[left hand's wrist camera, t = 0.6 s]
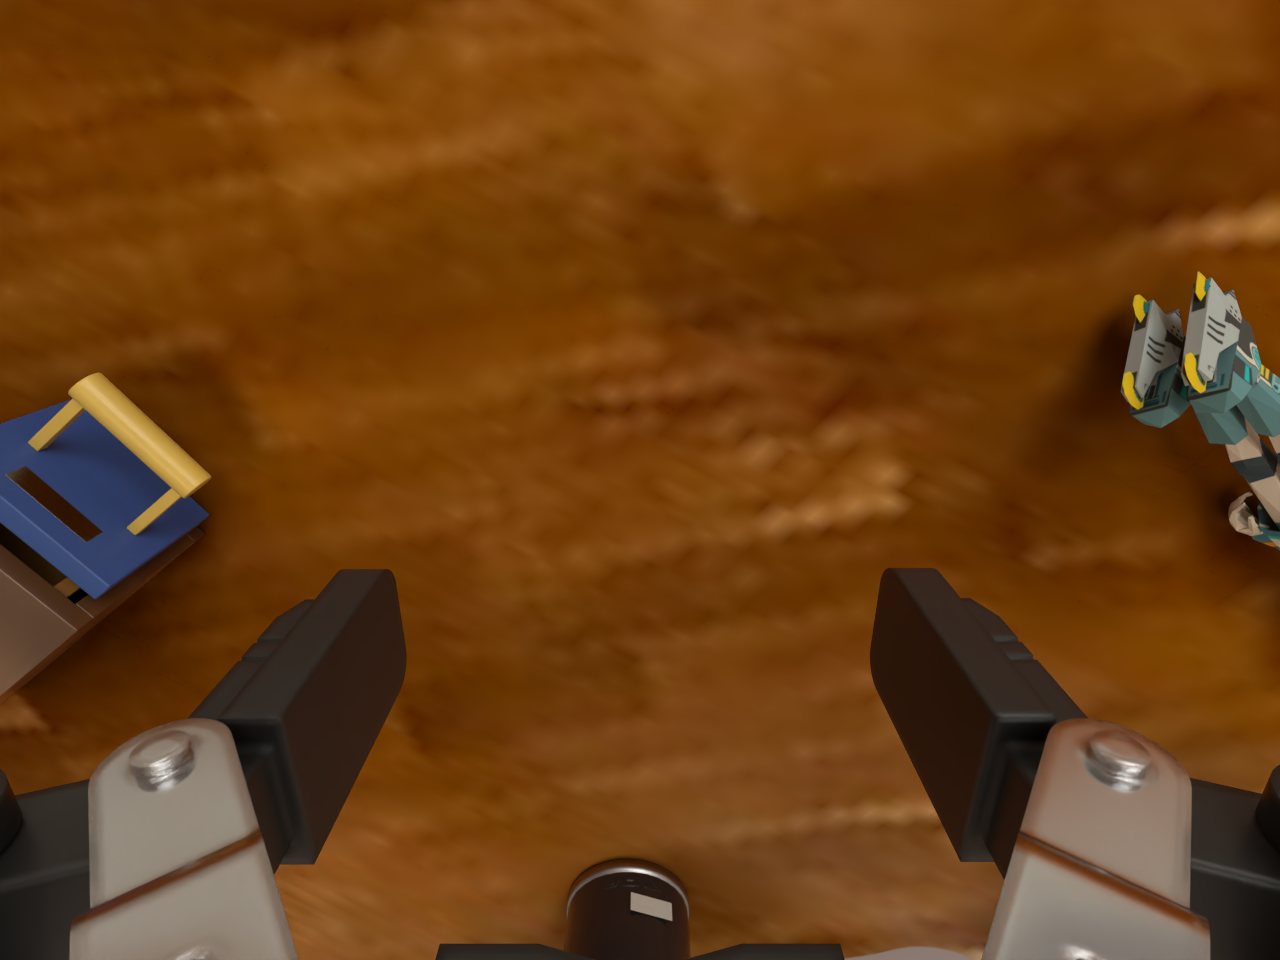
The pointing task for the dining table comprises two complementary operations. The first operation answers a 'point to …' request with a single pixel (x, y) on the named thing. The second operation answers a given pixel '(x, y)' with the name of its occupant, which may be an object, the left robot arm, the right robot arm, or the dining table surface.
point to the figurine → (1211, 391)
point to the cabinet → (57, 613)
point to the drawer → (93, 489)
